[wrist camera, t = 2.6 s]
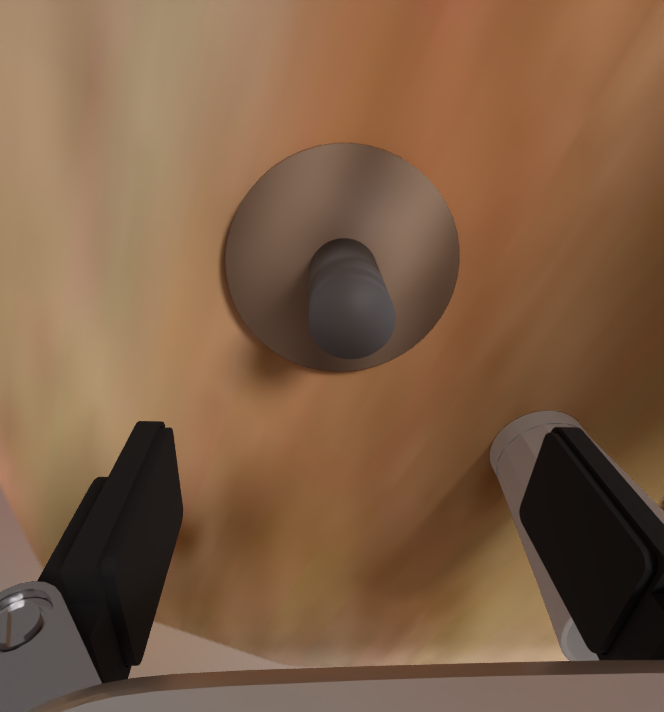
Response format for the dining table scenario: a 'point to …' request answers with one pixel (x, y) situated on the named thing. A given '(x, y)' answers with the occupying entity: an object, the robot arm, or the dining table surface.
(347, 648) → the dining table surface
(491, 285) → the dining table surface
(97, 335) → the dining table surface
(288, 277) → the lid
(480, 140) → the dining table surface
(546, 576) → the cup
